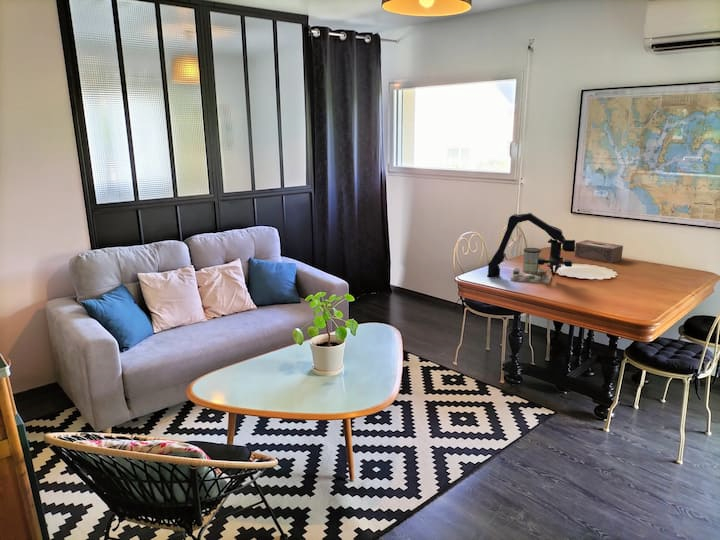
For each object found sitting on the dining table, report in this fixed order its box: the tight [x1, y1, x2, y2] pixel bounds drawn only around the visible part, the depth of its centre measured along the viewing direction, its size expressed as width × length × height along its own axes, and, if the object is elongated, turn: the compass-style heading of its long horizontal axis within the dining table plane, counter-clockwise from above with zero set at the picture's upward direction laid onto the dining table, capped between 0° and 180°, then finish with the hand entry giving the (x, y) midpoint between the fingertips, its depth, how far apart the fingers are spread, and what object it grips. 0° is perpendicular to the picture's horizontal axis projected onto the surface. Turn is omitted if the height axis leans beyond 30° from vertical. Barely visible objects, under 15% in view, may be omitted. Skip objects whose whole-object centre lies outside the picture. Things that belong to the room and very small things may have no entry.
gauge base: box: [510, 267, 552, 284], centre depth 308 cm, size 22×12×5 cm, turn 69°
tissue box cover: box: [574, 239, 624, 264], centre depth 355 cm, size 26×14×10 cm, turn 38°
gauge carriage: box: [531, 268, 547, 279], centre depth 305 cm, size 8×10×4 cm
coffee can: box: [522, 247, 542, 274], centre depth 324 cm, size 10×10×14 cm
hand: (553, 276), depth 303 cm, fingers closed
